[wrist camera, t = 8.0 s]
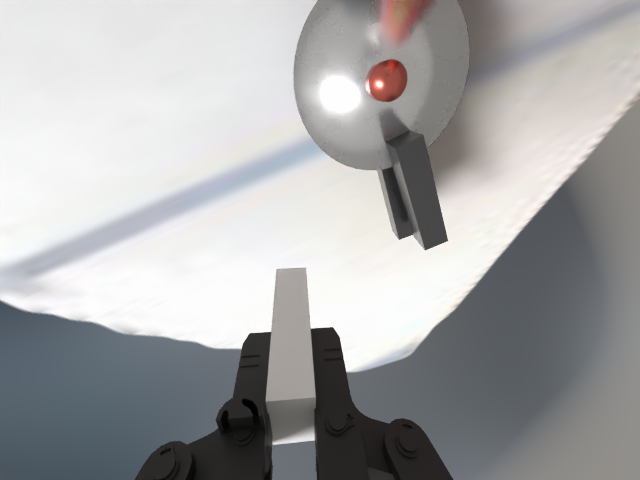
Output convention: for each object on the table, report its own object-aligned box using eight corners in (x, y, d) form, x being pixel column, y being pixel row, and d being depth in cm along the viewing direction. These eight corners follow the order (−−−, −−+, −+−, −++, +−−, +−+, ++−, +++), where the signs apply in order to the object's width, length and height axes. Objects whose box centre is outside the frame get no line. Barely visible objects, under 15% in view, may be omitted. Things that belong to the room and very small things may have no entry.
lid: (259, 26, 21) (253, 14, 18) (446, -82, 19) (479, -119, 16) (362, 254, 34) (370, 272, 30) (483, 202, 31) (507, 216, 28)
